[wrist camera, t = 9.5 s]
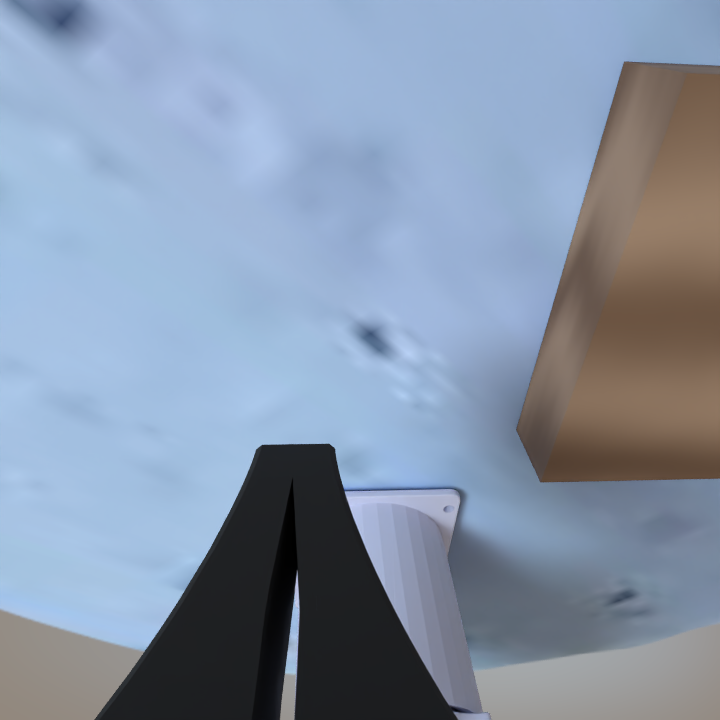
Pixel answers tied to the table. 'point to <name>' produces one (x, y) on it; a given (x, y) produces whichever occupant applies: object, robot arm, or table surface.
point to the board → (638, 296)
